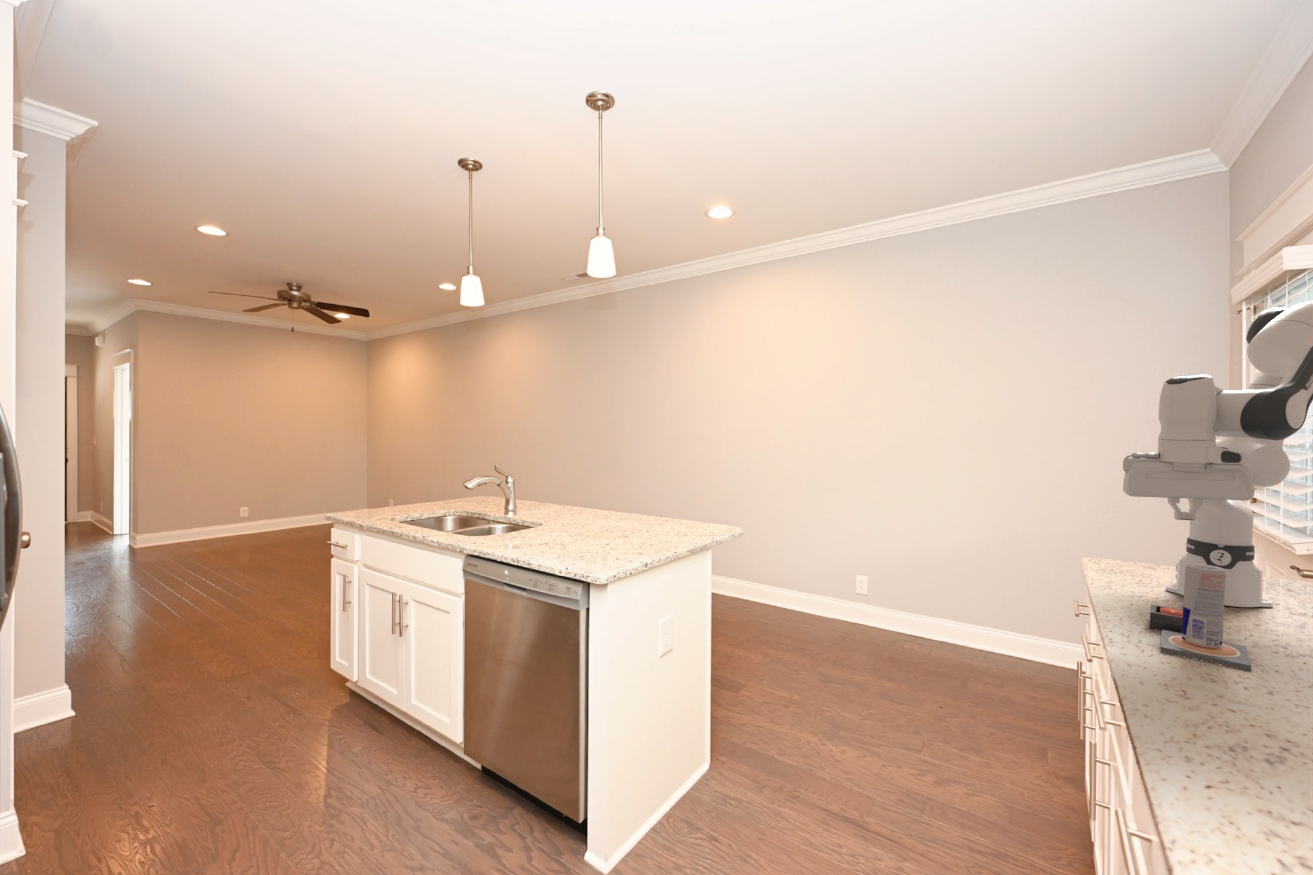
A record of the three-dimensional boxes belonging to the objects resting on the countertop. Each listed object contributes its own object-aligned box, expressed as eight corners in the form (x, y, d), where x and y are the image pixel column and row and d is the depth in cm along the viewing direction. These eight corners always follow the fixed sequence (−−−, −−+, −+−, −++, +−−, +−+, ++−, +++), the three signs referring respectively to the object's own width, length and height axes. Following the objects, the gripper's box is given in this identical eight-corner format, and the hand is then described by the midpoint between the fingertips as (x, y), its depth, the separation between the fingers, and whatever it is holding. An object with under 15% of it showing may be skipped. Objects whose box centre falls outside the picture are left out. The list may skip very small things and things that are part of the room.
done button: (1159, 617, 124) (1160, 606, 124) (1184, 622, 122) (1185, 610, 122) (1159, 622, 121) (1159, 610, 121) (1185, 627, 119) (1185, 615, 119)
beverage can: (1229, 648, 108) (1233, 568, 108) (1209, 651, 107) (1213, 570, 106) (1194, 637, 114) (1198, 561, 113) (1174, 640, 112) (1178, 563, 112)
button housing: (1150, 619, 127) (1151, 604, 126) (1194, 628, 122) (1195, 611, 122) (1149, 628, 121) (1150, 612, 121) (1194, 637, 117) (1195, 620, 116)
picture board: (1161, 634, 118) (1161, 628, 118) (1245, 650, 110) (1245, 645, 110) (1160, 651, 109) (1160, 646, 109) (1251, 671, 101) (1251, 665, 101)
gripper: (1127, 453, 122) (1126, 519, 122) (1259, 455, 113) (1257, 525, 113) (1119, 451, 127) (1118, 514, 128) (1244, 453, 118) (1242, 520, 119)
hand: (1184, 519), depth 120 cm, fingers closed
